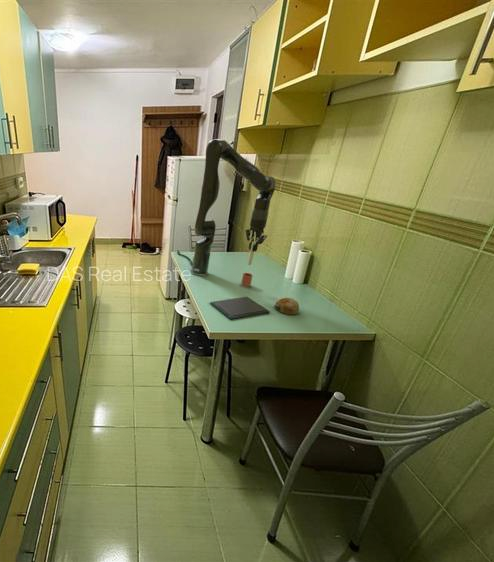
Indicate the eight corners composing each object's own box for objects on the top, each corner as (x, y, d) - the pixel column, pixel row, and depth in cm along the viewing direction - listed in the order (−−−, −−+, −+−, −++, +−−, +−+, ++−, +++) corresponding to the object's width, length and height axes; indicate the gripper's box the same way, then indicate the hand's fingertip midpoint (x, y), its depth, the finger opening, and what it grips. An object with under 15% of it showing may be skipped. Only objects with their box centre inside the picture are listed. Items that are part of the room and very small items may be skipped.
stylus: (246, 264, 165) (251, 240, 159) (249, 264, 166) (254, 240, 160) (249, 265, 163) (254, 241, 158) (252, 265, 164) (257, 241, 158)
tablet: (210, 303, 151) (210, 301, 150) (246, 298, 157) (246, 296, 157) (230, 319, 137) (230, 317, 136) (269, 313, 143) (269, 310, 143)
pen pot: (238, 284, 173) (241, 273, 170) (246, 283, 174) (248, 272, 171) (244, 288, 169) (247, 276, 166) (252, 287, 170) (254, 275, 167)
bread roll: (291, 322, 142) (303, 311, 138) (271, 309, 145) (283, 297, 140) (292, 313, 150) (303, 302, 146) (273, 301, 153) (284, 290, 148)
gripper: (275, 220, 149) (267, 253, 156) (255, 214, 161) (249, 246, 168) (263, 221, 147) (255, 255, 154) (244, 215, 159) (238, 247, 166)
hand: (252, 250), depth 161 cm, fingers closed on stylus, 2 cm apart
